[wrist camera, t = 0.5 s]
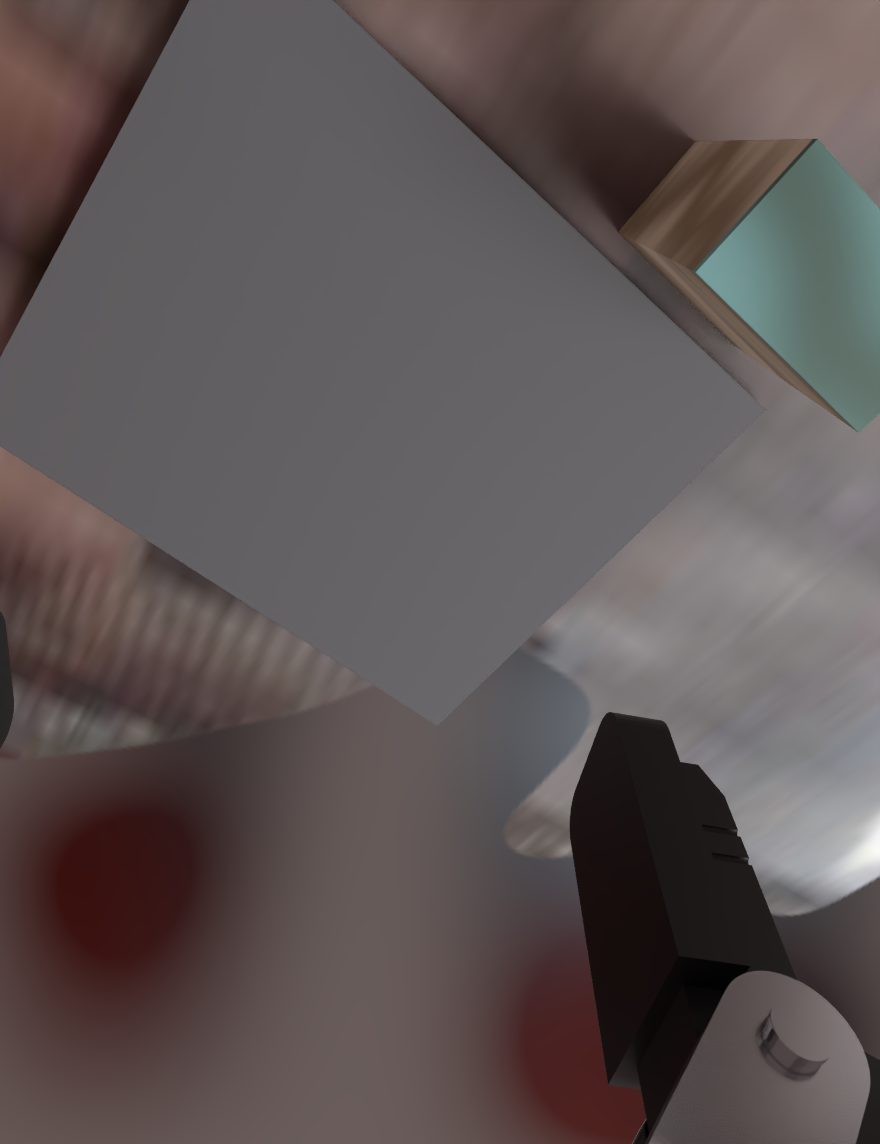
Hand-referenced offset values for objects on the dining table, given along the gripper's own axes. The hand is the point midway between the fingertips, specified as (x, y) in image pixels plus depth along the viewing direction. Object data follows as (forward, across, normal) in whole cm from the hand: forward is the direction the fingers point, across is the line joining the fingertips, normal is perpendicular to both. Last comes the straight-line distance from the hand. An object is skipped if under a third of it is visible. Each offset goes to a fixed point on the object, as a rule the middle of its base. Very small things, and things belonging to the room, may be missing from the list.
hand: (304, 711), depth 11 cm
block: (+25, -12, -5) cm, 28 cm away
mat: (+25, +1, +4) cm, 25 cm away
